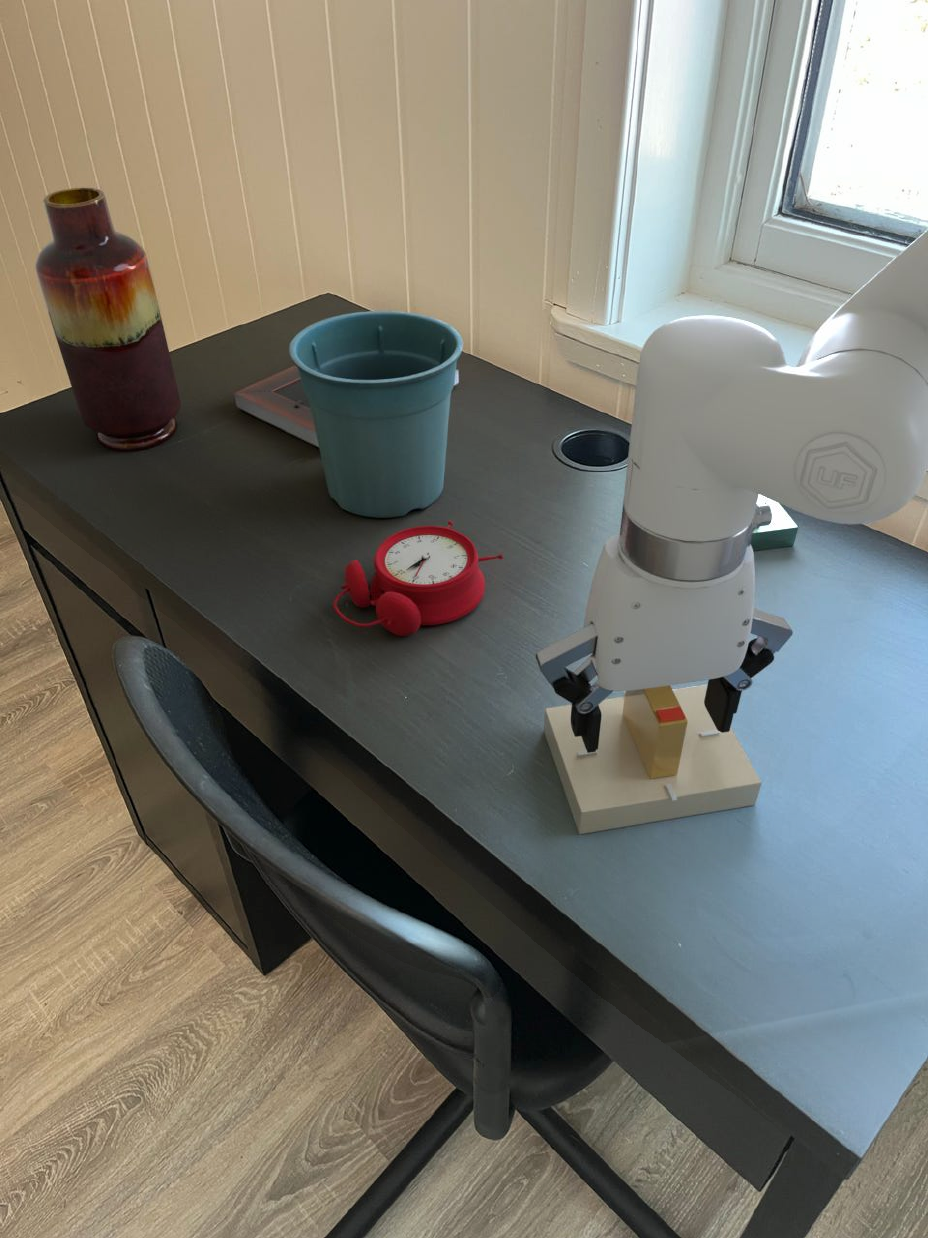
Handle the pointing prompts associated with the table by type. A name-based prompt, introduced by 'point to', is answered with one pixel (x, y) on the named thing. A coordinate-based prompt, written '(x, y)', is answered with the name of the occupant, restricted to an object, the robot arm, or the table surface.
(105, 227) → the vase
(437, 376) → the flower pot
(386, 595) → the alarm clock
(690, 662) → the robot arm
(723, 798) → the dial base plate
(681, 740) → the tan block
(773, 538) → the button block
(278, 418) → the picture frame
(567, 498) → the table surface
